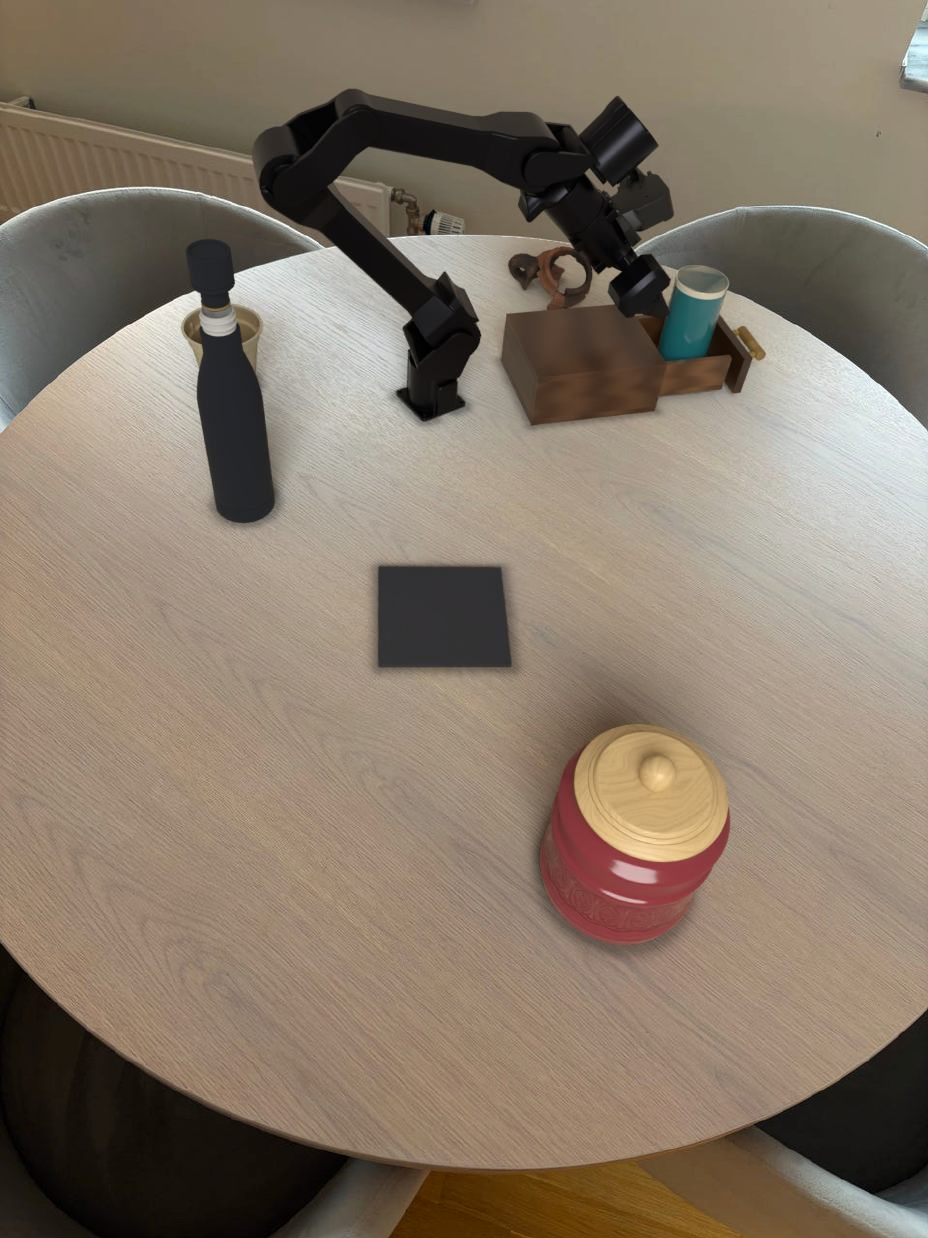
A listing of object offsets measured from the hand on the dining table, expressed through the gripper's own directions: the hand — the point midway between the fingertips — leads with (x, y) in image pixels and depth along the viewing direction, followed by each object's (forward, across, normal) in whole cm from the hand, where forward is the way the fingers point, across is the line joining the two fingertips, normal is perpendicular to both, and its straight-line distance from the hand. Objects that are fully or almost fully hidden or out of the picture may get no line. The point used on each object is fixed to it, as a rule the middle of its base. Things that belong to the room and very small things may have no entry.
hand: (651, 294), depth 115 cm
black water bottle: (-28, -14, +46) cm, 55 cm away
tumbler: (+12, 0, +3) cm, 12 cm away
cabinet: (+3, 0, +14) cm, 15 cm away
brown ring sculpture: (+5, +21, +12) cm, 25 cm away
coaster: (-16, -34, +33) cm, 50 cm away
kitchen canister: (-10, -65, +28) cm, 71 cm away
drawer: (+13, 0, +3) cm, 14 cm away
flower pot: (-27, +7, +45) cm, 53 cm away
